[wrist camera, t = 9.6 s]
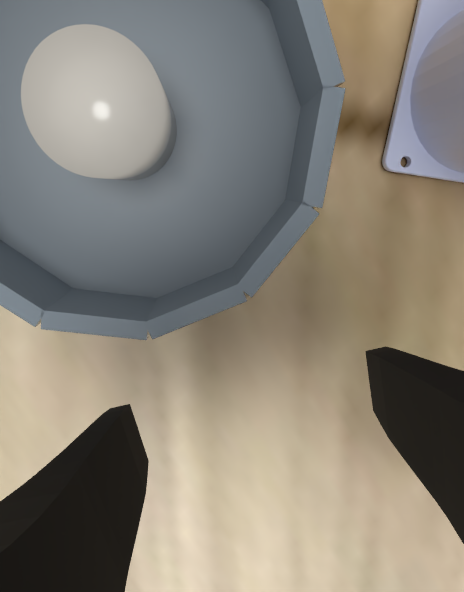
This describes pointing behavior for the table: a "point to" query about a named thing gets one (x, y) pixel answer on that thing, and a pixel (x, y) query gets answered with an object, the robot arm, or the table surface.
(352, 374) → the table surface
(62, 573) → the robot arm
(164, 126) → the pebble
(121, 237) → the bowl
